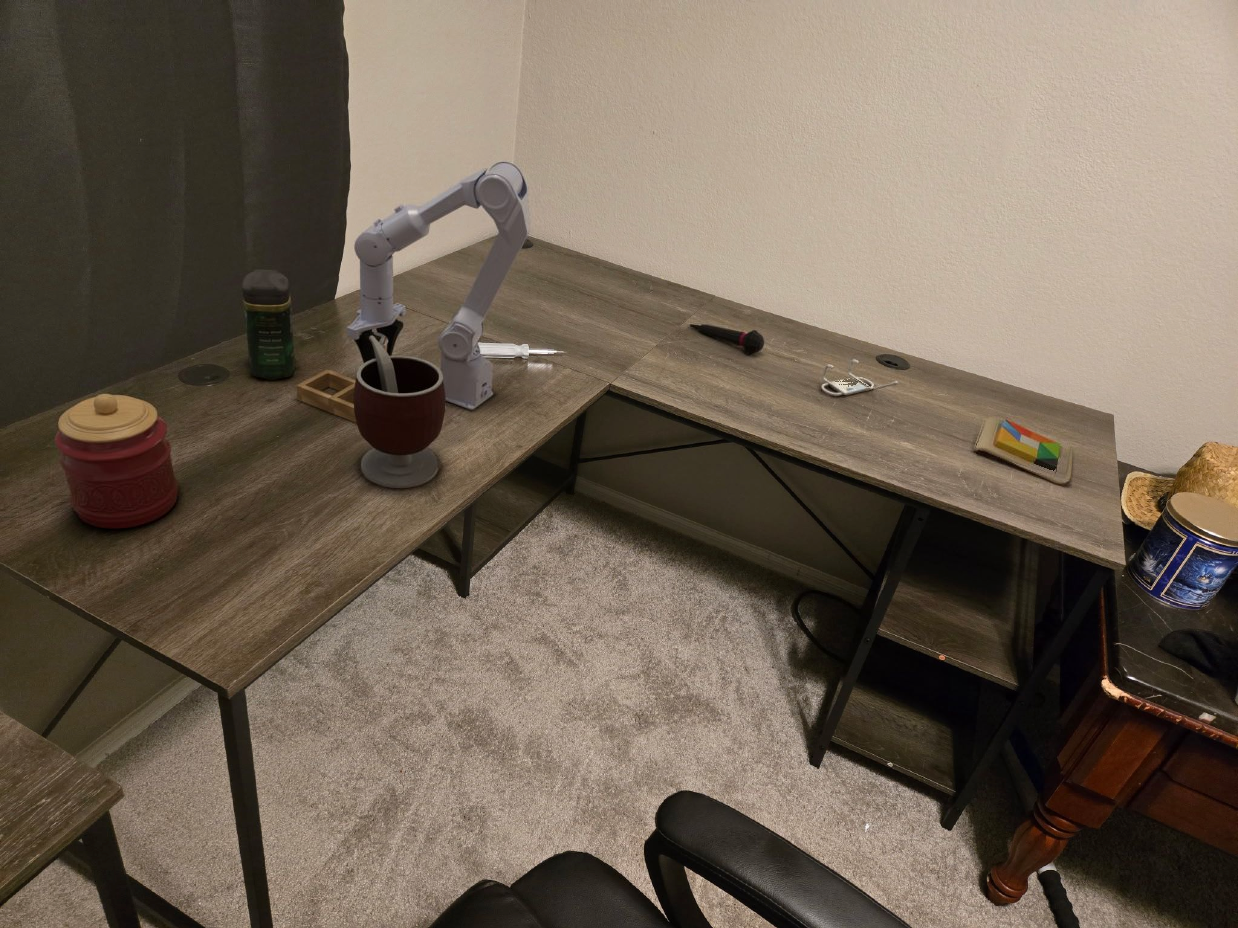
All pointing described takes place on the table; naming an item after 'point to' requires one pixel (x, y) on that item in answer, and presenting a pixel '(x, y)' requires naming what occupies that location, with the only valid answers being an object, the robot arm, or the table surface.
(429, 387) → the mate gourd
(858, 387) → the wall mount rack
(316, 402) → the rack
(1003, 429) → the wooden puzzle
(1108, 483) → the table surface
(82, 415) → the kitchen canister
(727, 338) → the microphone
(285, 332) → the coffee jar
